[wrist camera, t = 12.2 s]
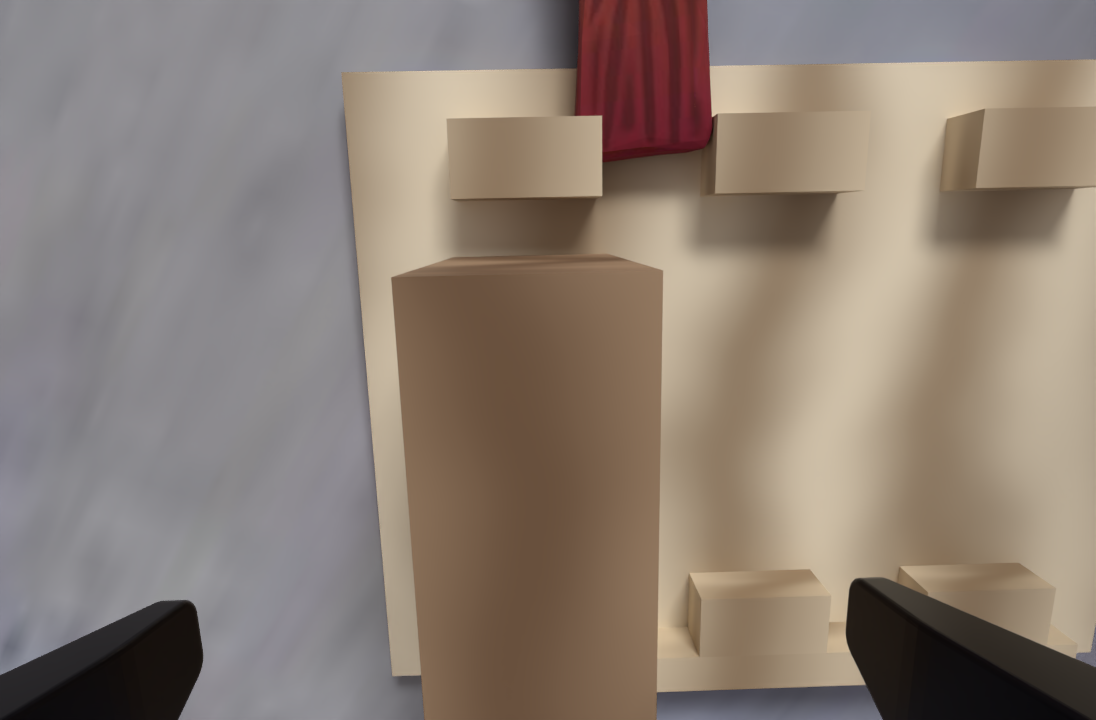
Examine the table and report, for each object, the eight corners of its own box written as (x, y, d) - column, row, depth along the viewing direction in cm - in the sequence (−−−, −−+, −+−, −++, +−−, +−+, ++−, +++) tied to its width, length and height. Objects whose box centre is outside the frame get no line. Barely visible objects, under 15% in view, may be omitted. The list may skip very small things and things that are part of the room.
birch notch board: (1163, 67, 18) (1288, 34, 15) (1065, 633, 22) (1150, 697, 19) (352, 81, 18) (314, 50, 15) (398, 656, 22) (376, 725, 19)
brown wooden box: (606, 253, 18) (663, 270, 10) (607, 543, 20) (656, 745, 12) (453, 257, 18) (391, 277, 10) (469, 548, 20) (427, 754, 12)
